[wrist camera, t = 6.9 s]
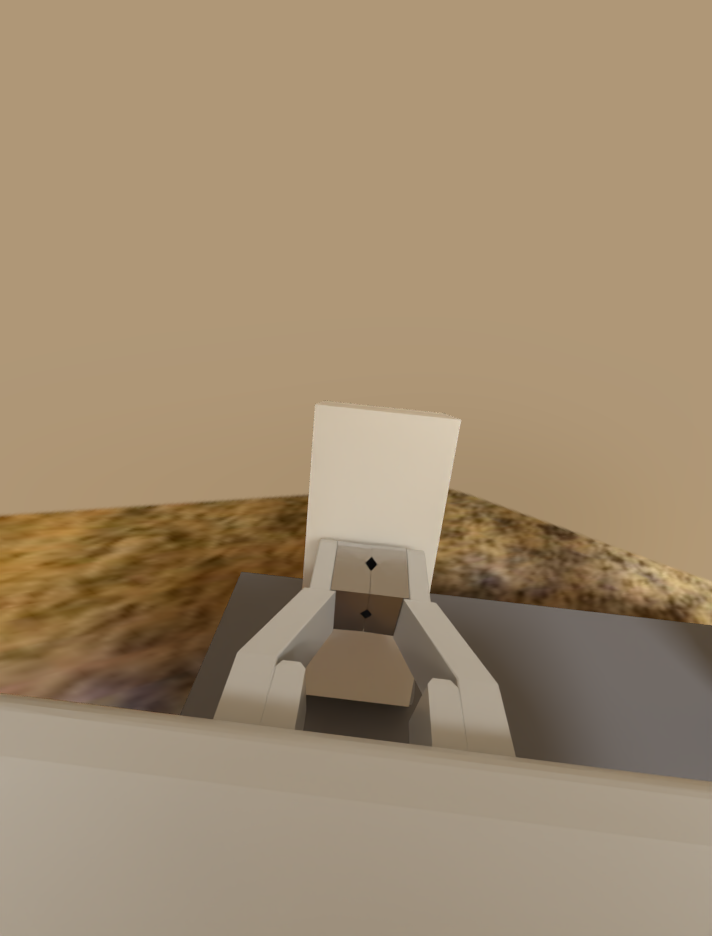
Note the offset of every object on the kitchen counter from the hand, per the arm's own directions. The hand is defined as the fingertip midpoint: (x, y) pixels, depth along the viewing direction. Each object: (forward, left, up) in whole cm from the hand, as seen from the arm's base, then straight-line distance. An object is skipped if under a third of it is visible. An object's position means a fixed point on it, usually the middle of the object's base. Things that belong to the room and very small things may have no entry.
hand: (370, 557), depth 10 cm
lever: (+1, 0, -6) cm, 6 cm away
